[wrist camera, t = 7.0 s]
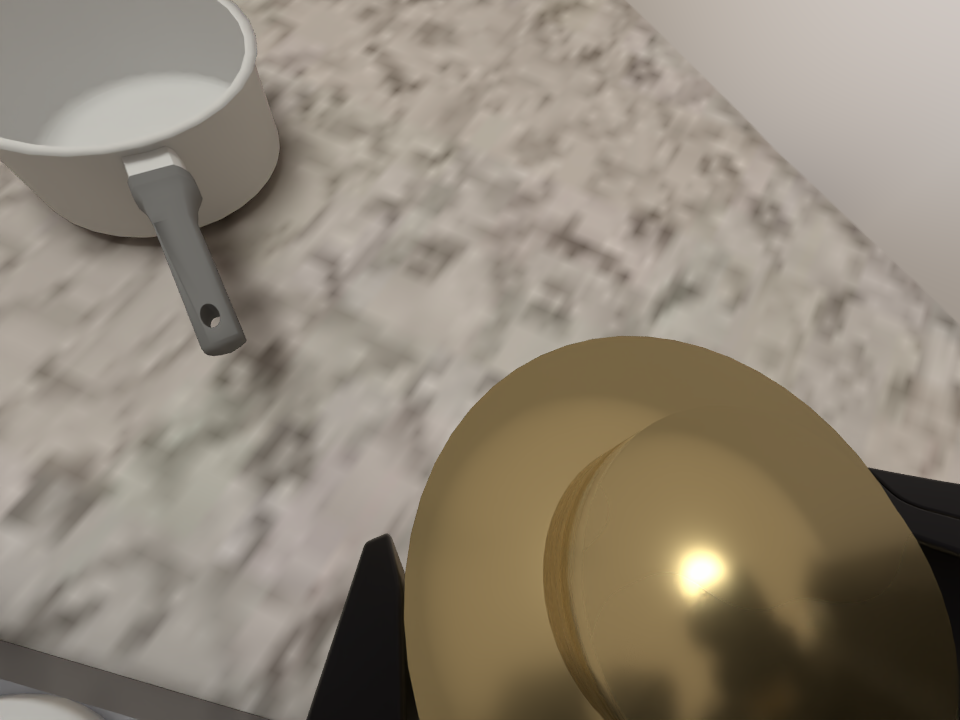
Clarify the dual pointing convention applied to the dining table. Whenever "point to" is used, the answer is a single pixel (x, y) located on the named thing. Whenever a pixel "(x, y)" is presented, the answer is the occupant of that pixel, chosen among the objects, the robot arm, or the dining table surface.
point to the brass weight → (665, 555)
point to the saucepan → (140, 127)
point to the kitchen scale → (90, 693)
